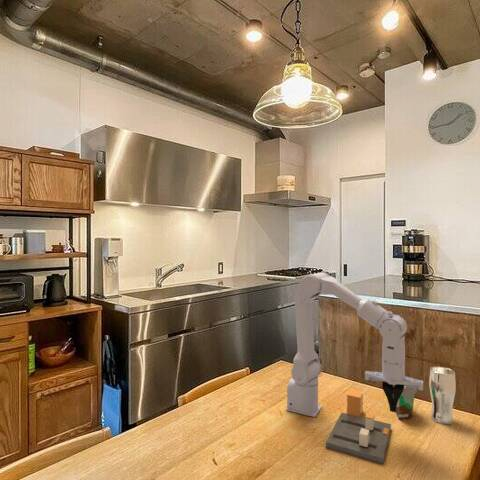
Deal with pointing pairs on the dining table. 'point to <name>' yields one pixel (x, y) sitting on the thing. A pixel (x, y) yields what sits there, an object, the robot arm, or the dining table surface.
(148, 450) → the dining table surface
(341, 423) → the panel
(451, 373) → the beer glass
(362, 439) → the block
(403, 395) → the food container
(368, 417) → the block
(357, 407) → the block
